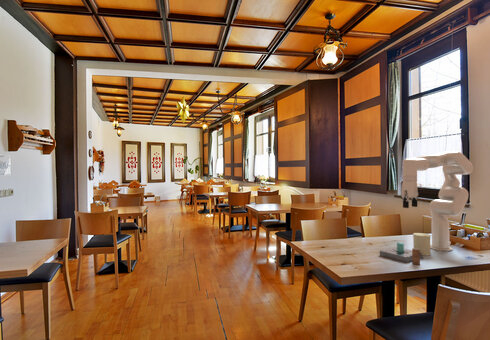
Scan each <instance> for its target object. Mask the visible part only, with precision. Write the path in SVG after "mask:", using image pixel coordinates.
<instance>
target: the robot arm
mask: <svg viewBox="0 0 490 340" xmlns="http://www.w3.org/2000/svg"><path fill="white" fill-rule="evenodd" d="M439 167H442V172H443V176H444V181H443V183H442V185H441V188H440V190H439V191H438V198H439V199H433V200H432V201H431V202H430V203H429V211H430V217H431V243H430V250H431V249H432V250H436V251H442V252H450V251H453V247H451V246H450V245H451V243H452V241H450V221H449V220H450V219H449V218H448V217H447V216H450V217H458V216H460V215H461V214H462V212H463V210H464V208H465V206H466V204H467V202H468V200H469V191H468V190H467V189H466V188H465V187H461V182H460V180H459V178H457V175H464V176H465V175H470V174H472V173H473V171H474V166H473V164H472V162H471V161H470V160H469V159H468V158H467V157H466V155H465V154H463V153H462V152H460V151H458V150H457V151H444V152H443V151H441V152H439V153H433V154H428V155H422V156H416V157H411V158H404V159H403V160H402V185H401V195H400V196H401V199H402V200H401V201H402V208H403V209H404V208H405V209H409V206H410V205H409V204H410V203H409V200H410V199H412V200H411V207H412V208H414V207H415V208H417V207H418V198H419V194H420V193H419V192H418V190H419V189H418V172H421V171H422V172H423V171H426V170H428V169H436V168H439Z"/></svg>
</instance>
